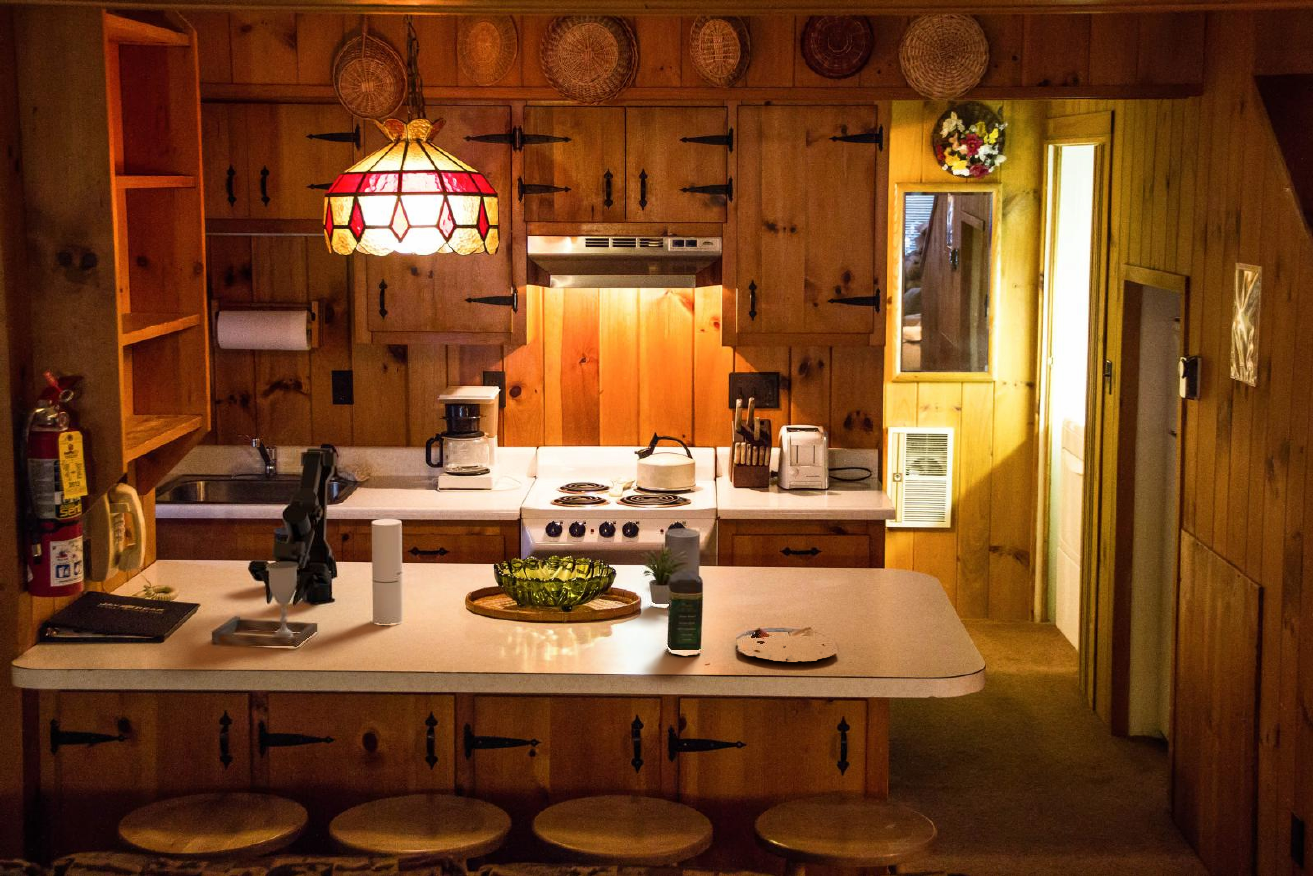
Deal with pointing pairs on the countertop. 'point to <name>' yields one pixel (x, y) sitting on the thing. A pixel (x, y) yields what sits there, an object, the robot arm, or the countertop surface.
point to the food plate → (792, 632)
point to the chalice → (283, 589)
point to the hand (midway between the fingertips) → (280, 603)
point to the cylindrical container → (387, 571)
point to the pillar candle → (684, 548)
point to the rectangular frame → (226, 636)
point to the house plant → (662, 574)
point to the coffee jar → (685, 611)
